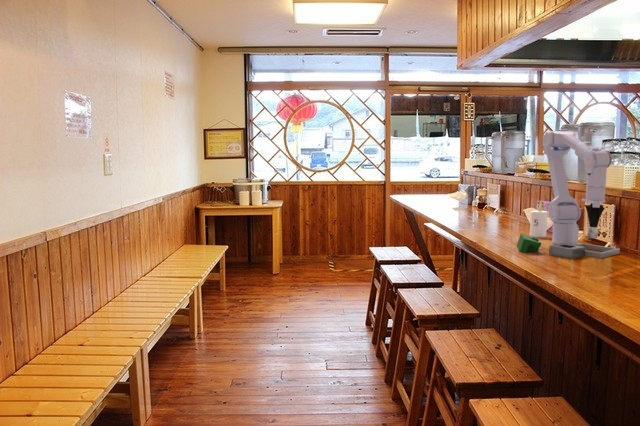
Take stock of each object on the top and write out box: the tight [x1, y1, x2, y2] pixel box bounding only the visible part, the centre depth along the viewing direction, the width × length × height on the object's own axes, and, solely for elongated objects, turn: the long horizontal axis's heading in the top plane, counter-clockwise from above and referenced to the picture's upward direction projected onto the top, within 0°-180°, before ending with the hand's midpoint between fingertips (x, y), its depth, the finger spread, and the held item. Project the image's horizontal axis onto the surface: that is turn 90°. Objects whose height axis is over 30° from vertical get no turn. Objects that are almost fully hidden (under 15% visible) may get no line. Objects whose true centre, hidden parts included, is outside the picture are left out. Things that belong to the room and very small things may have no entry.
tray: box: [577, 242, 620, 259], centre depth 171 cm, size 13×13×2 cm
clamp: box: [516, 233, 542, 253], centre depth 176 cm, size 12×6×9 cm, turn 157°
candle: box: [529, 200, 549, 238], centre depth 207 cm, size 6×6×15 cm
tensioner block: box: [548, 243, 586, 260], centre depth 166 cm, size 8×8×4 cm
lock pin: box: [586, 217, 599, 239], centre depth 170 cm, size 3×3×7 cm
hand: (592, 226), depth 170 cm, fingers closed on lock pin, 3 cm apart
